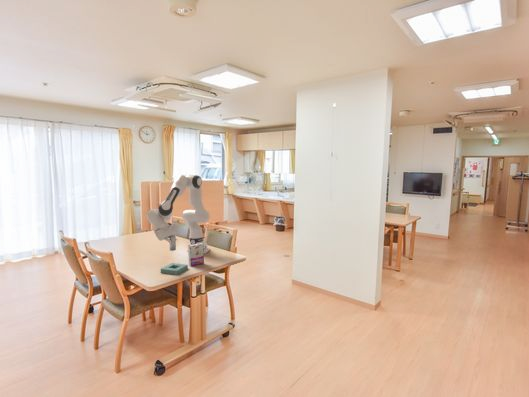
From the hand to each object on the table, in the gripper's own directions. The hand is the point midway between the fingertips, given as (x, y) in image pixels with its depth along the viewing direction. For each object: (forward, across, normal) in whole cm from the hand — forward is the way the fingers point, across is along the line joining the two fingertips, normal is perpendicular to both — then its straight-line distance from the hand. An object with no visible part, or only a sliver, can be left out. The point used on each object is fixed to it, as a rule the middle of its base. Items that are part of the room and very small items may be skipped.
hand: (173, 241), depth 222 cm
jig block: (+16, -1, +15) cm, 22 cm away
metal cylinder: (+4, 0, +5) cm, 6 cm away
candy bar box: (+22, +17, +9) cm, 29 cm away
